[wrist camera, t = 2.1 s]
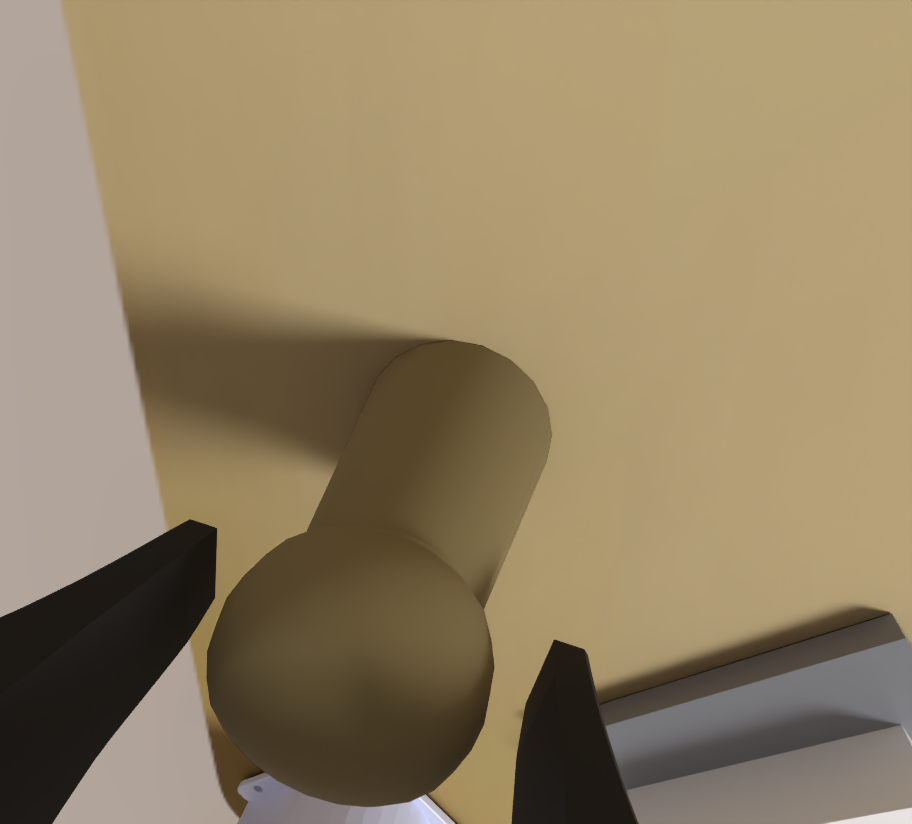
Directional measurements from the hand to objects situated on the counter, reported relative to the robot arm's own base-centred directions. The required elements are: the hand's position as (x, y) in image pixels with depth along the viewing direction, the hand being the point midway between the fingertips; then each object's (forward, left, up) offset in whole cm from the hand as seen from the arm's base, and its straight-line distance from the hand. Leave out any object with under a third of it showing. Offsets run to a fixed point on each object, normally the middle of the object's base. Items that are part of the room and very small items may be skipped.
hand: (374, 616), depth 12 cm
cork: (0, 0, -8) cm, 8 cm away
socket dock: (+1, -21, -8) cm, 23 cm away
